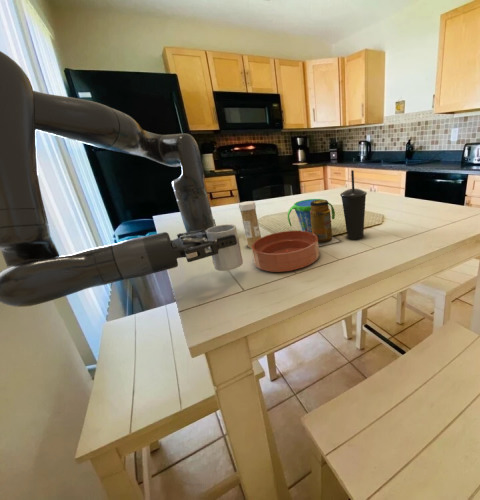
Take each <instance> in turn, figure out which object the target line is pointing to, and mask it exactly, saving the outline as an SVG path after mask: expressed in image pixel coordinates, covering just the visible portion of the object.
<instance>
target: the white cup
mask: <svg viewBox="0 0 480 500" xmlns="http://www.w3.org/2000/svg"><path fill="white" fill-rule="evenodd" d="M206 234H207V238H208V239H217V238H221V237H225V236H229V235H235V236H236V240H237V244H236V245H233V246H229V247H225V248H221V249H220V250H219V251H218V252H219V253H218V254H216V255H212V256H211V258H212V262H213V267H214V269H215V270H216V271H218V272H228V271H233V270H235V269H238V268H240V267H241V266H243V264H244V259H243V255H242V250H241V245H240V240H239V239H240V238H239V234H238V229H237V226H236V225H235V224H227V223H226V224H219V225H216V226H214V227H211V228H208V229H207V230H206ZM209 248H211V247H209Z"/></svg>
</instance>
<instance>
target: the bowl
mask: <svg viewBox="0 0 480 500" xmlns="http://www.w3.org/2000/svg"><path fill="white" fill-rule="evenodd" d="M250 249H251V252H252V258H253V262H254V265H255V267H257V268H258V269H259V270H263V271H266V272H275V273H280V272H281V273H282V272H292V271H295V270H299V269H302V268H305V267H307V266H310V265H311V264H313V263H314V262H315V261H317V260H318V259H319V257H320V246H319V245H318V237H317V236H316V235H315V234H314V233H311V232H307V231H302V230H286V231H285V230H284V231H279V232H278V231H277V232H273V233H269V234H267V235H264V236H261V238H259V239H258V240H256V241H255V242H253V244H252V246H251V248H250ZM286 250H288V251H289V252H288V253H286ZM292 251H293V252H292Z"/></svg>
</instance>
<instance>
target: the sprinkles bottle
mask: <svg viewBox="0 0 480 500" xmlns="http://www.w3.org/2000/svg"><path fill="white" fill-rule="evenodd" d="M238 208H239V211H240V214H241V219H242V220H241V221H242V225H243V230H244V235H245V239H246V243H247V247H248V248H250V249H252V248H251V246H252V244H253V242H255V241H256V240H258V239H259V238H262V236H261V230H260V225H259V220H258V216H257V210H256V209H257V208H256V202H255V201H253V200H248V201H241V202H240V203H238Z"/></svg>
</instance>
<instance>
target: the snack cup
mask: <svg viewBox="0 0 480 500" xmlns="http://www.w3.org/2000/svg"><path fill="white" fill-rule="evenodd" d="M314 200H324V199H322V198H307V199H303V200H299V201H296V202H294V203H293V205H292V206H291V207H290V208H289V209H288V211H287V222H288V224H289V226H290V227H292V223H291V219H290V214H291V213H292V211H295V214H296V216H297V218H298V223H299V225H300V229H301V230H300V231H307V232H311V233H312V227H311V217H310V211H311V202H312V201H314ZM328 206H329V207H330V208H331V210H330V211H331V219H332V220H335V218H336V212H335V208H334V206H333V204H331V203H330V202H329V201H328Z"/></svg>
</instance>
